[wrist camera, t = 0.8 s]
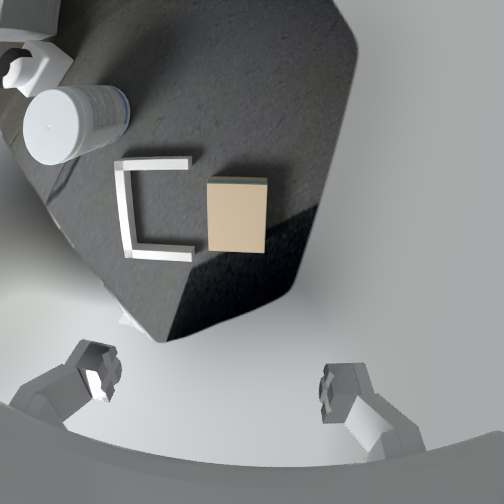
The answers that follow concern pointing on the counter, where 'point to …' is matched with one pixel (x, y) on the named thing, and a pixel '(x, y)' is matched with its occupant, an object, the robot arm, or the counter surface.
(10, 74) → the medicine bottle
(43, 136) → the supplement tub
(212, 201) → the carton
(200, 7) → the counter surface
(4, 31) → the skincare box
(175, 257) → the frame
